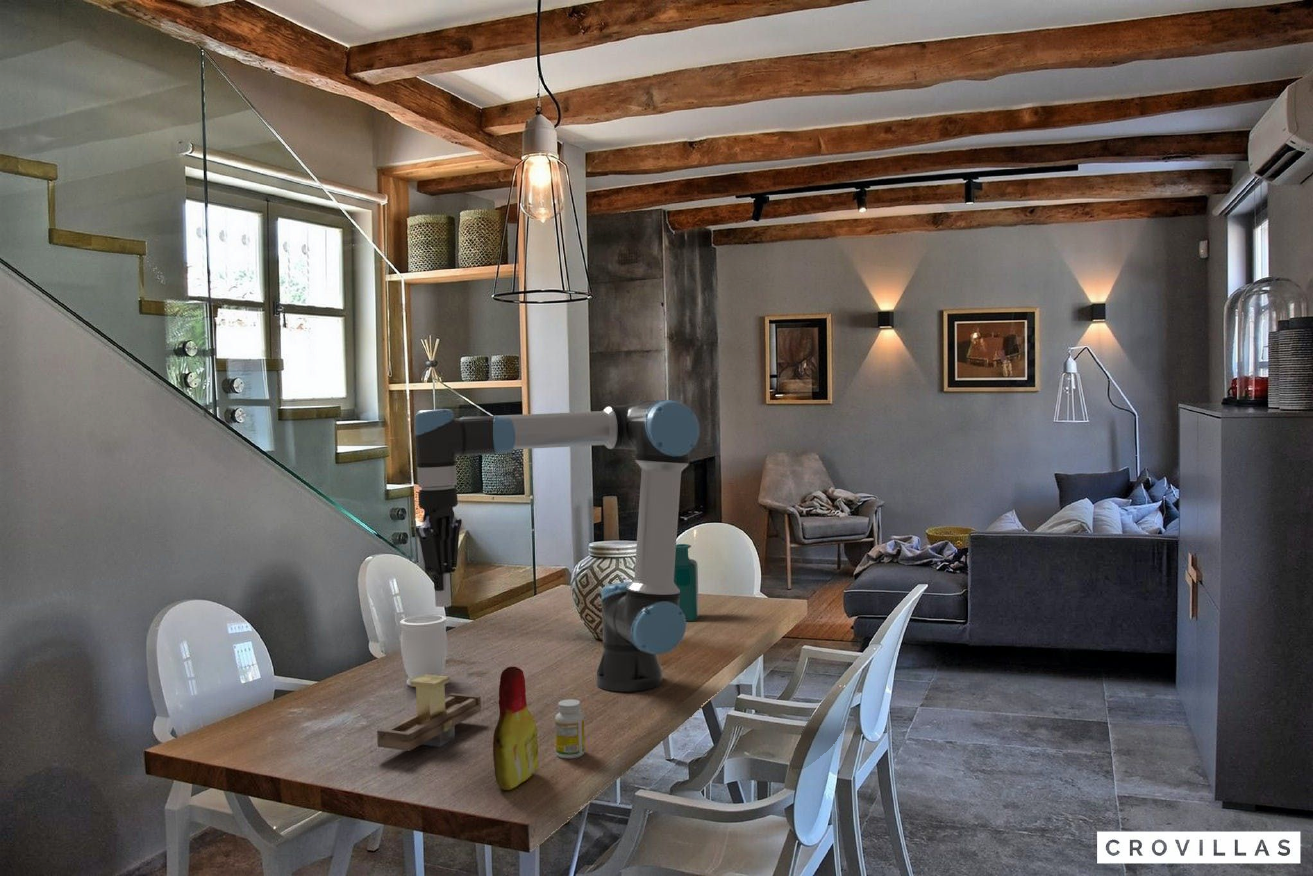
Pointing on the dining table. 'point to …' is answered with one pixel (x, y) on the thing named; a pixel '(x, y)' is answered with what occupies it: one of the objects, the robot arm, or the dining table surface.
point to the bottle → (514, 733)
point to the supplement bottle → (569, 730)
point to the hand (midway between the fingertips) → (443, 605)
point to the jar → (423, 645)
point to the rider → (430, 696)
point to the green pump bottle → (687, 582)
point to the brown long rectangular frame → (430, 725)
